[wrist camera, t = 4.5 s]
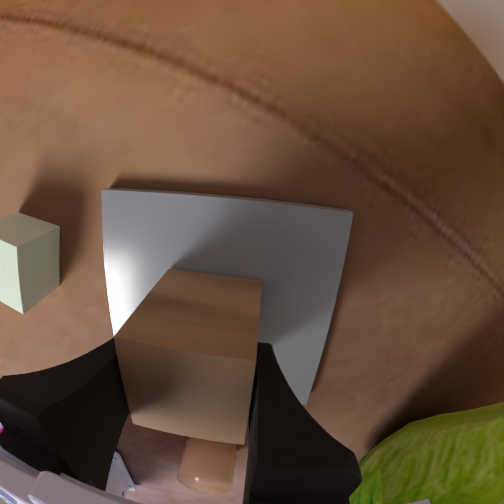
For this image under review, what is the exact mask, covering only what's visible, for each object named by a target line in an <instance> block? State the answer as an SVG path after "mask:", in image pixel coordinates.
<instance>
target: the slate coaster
mask: <svg viewBox="0 0 504 504" xmlns="http://www.w3.org/2000/svg"><path fill="white" fill-rule="evenodd" d="M352 219H353V212H351V211H350V210H347V209H340V208H333V207H325V206H318V205H310V204H303V203H295V202H286V201H278V200H269V199H260V198H250V197H240V196H229V195H218V194H207V193H194V192H181V191H166V190H149V189H130V188H106V189H103V190H102V232H103V249H104V262H105V273H106V283H107V292H108V300H109V307H110V315H111V321H112V328H113V334H114V336H115V334H116V333H117V332H118V331H119V329H120V328H121V327H122V325H123V324H124V323H125V322H126V320H127V319H128V318H129V317H130V315H131V314H132V313H133V312H134V310H135V309H136V308H137V307H138V305H139V304H140V303H141V302H142V300H143V299H144V298H145V297H146V296H147V294H148V293H149V292H150V291H151V289H152V288H153V287H154V286H155V285H156V283H157V282H158V281H159V280H160V279H161V277H162V276H163V275H164V274H165V273H166V271H167V270H168V269H177V270H185V271H193V272H201V273H209V274H217V275H226V276H234V277H243V278H252V279H261V280H262V289H261V303H260V317H259V331H258V342H261V343H270V344H271V345H272V346H273V350H274V354H275V356H276V359H277V362H278V364H279V366H280V369H281V371H282V373H283V375H284V377H285V379H286V381H287V382H288V384H289V386H290V388H291V389H292V391H293V393H294V394H295V396H296V397H297V399H298V400H299V401H300V403H301V404H302V405H306V404H307V401H308V398H309V395H310V392H311V389H312V386H313V382H314V379H315V376H316V372H317V369H318V366H319V362H320V359H321V355H322V352H323V348H324V345H325V341H326V337H327V333H328V330H329V326H330V322H331V318H332V314H333V310H334V306H335V302H336V298H337V293H338V289H339V285H340V280H341V275H342V271H343V266H344V261H345V256H346V251H347V246H348V241H349V236H350V230H351V225H352Z"/></svg>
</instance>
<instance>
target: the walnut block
mask: <svg viewBox="0 0 504 504" xmlns="http://www.w3.org/2000/svg"><path fill="white" fill-rule="evenodd" d="M261 289H262V280H261V279H252V278H243V277H234V276H226V275H217V274H209V273H201V272H193V271H185V270H177V269H168V270H167V271H166V273H165V274H164V275H163V276H162V277H161V279H160V280H159V281H158V282H157V283H156V285H155V286H154V287H153V288H152V289H151V291H150V292H149V293H148V294H147V296H146V297H145V298H144V299H143V300H142V302H141V303H140V304H139V305H138V307H137V308H136V309H135V310H134V312H133V313H132V314H131V315H130V317H129V318H128V319H127V320H126V322H125V323H124V324H123V325H122V327H121V328H120V329H119V331H118V332H117V333H116V334H115V336H114V341H115V347H116V352H117V358H118V363H119V368H120V373H121V377H122V382H123V386H124V390H125V395H126V399H127V403H128V407H129V410H130V414H131V418H132V421H133V424H136V425H140V426H143V427H147V428H151V429H155V430H159V431H164V432H168V433H173V434H178V435H183V436H188V437H193V438H199V439H205V440H211V441H218V442H225V443H233V444H241V445H244V441H245V435H246V428H247V421H248V415H249V408H250V401H251V394H252V387H253V380H254V373H255V366H256V358H257V345H258V331H259V317H260V303H261Z"/></svg>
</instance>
